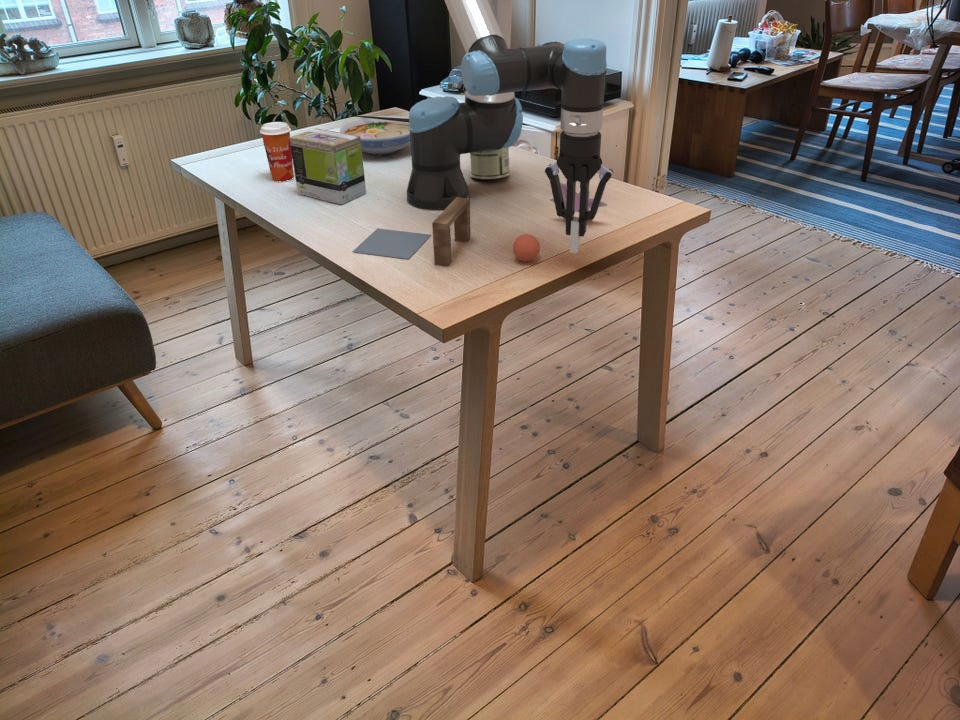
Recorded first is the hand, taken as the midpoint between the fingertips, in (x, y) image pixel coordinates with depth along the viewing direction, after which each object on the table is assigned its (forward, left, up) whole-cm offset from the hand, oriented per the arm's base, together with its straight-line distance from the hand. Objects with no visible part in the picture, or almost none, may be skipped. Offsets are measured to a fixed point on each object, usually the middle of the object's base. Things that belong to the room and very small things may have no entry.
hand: (574, 250), depth 150 cm
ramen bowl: (-59, -69, -4) cm, 91 cm away
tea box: (-24, -67, -4) cm, 72 cm away
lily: (-23, -4, -4) cm, 24 cm away
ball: (0, -10, -1) cm, 10 cm away
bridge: (0, -26, -4) cm, 26 cm away
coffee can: (-46, -32, -3) cm, 57 cm away
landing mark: (0, -40, -4) cm, 40 cm away
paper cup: (-31, -85, -4) cm, 91 cm away
